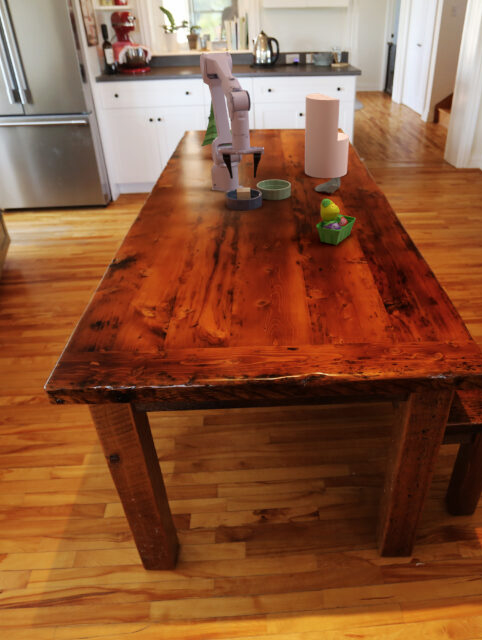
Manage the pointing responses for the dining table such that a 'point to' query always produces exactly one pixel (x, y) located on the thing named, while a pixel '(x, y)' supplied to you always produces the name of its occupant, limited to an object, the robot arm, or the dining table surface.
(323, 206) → the fruit basket
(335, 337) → the dining table surface
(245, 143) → the robot arm
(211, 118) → the decorative tree
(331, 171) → the cylinder
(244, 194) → the block
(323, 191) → the stone
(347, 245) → the dining table surface
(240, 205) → the slate bowl
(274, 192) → the sage bowl
